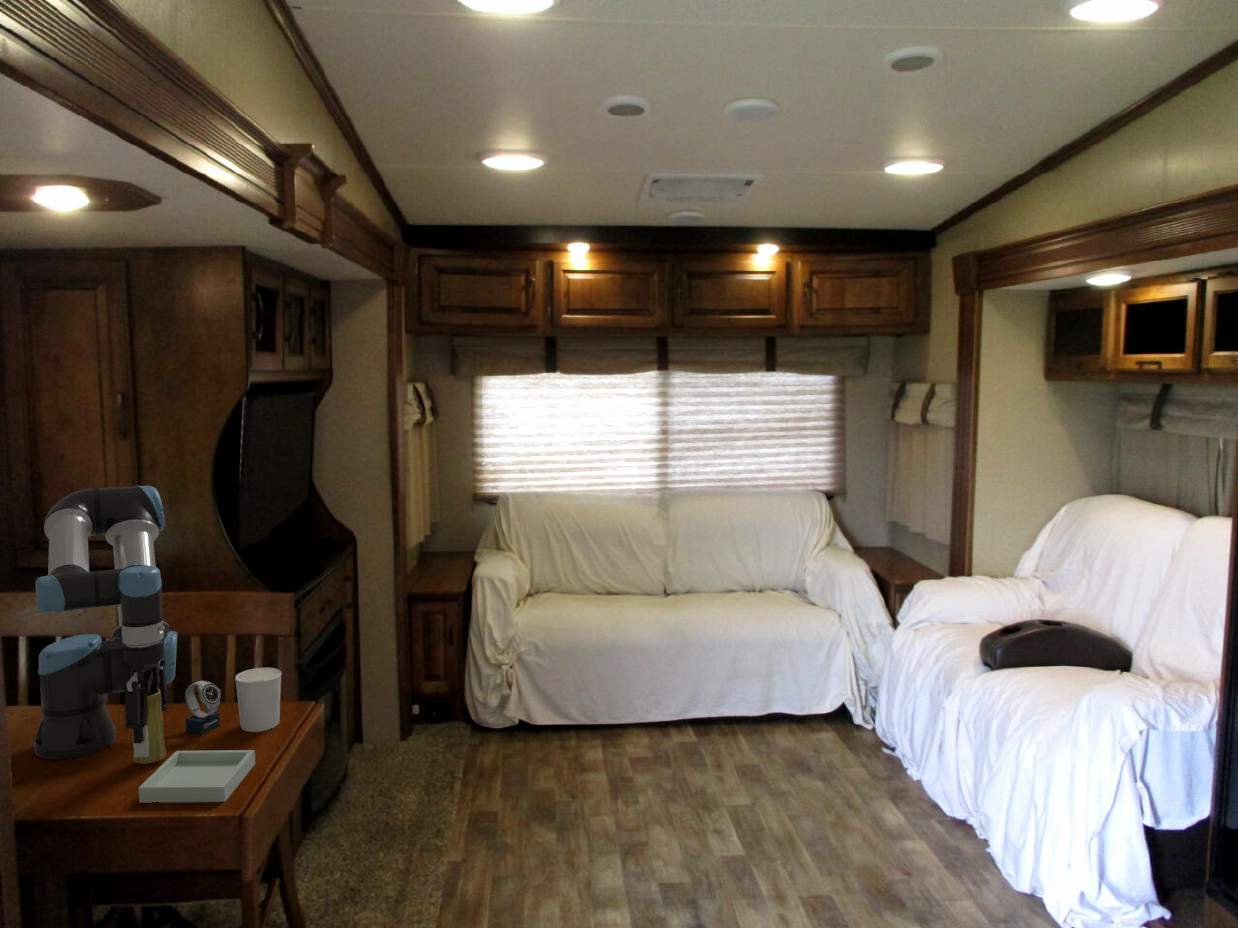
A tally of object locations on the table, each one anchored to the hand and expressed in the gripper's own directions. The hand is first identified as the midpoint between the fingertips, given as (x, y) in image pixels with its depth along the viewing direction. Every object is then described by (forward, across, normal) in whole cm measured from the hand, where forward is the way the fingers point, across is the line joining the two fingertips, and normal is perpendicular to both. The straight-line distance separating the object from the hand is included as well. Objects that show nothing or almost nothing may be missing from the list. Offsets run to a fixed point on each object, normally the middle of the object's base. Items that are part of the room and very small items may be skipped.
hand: (149, 748), depth 186 cm
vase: (+2, 0, 0) cm, 2 cm away
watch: (+3, +17, -4) cm, 18 cm away
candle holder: (+3, +19, -16) cm, 25 cm away
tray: (+3, -9, -14) cm, 17 cm away
